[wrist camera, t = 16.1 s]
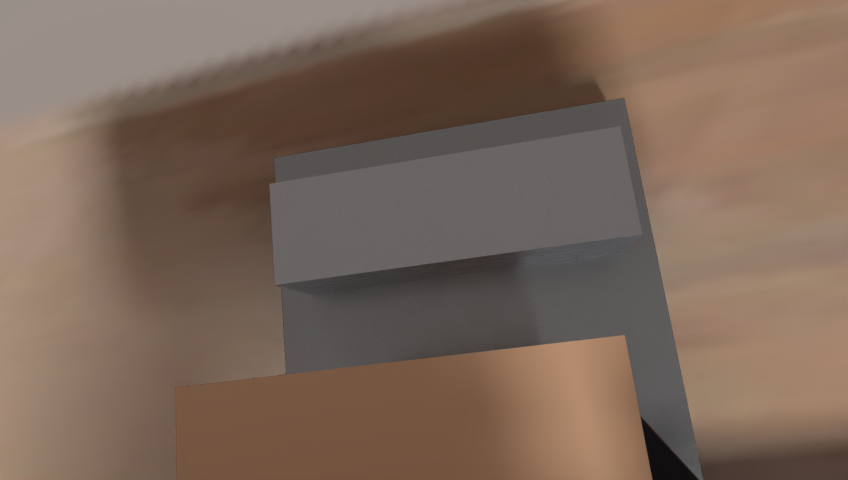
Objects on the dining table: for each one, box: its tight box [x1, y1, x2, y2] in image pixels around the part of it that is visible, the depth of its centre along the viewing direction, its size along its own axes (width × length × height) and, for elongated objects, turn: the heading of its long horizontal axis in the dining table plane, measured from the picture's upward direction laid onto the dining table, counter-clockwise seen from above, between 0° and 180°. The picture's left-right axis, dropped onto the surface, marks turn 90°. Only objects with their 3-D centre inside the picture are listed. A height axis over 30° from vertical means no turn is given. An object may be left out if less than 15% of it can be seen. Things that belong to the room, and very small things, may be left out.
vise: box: [269, 98, 703, 480], centre depth 16 cm, size 22×12×4 cm, turn 6°
